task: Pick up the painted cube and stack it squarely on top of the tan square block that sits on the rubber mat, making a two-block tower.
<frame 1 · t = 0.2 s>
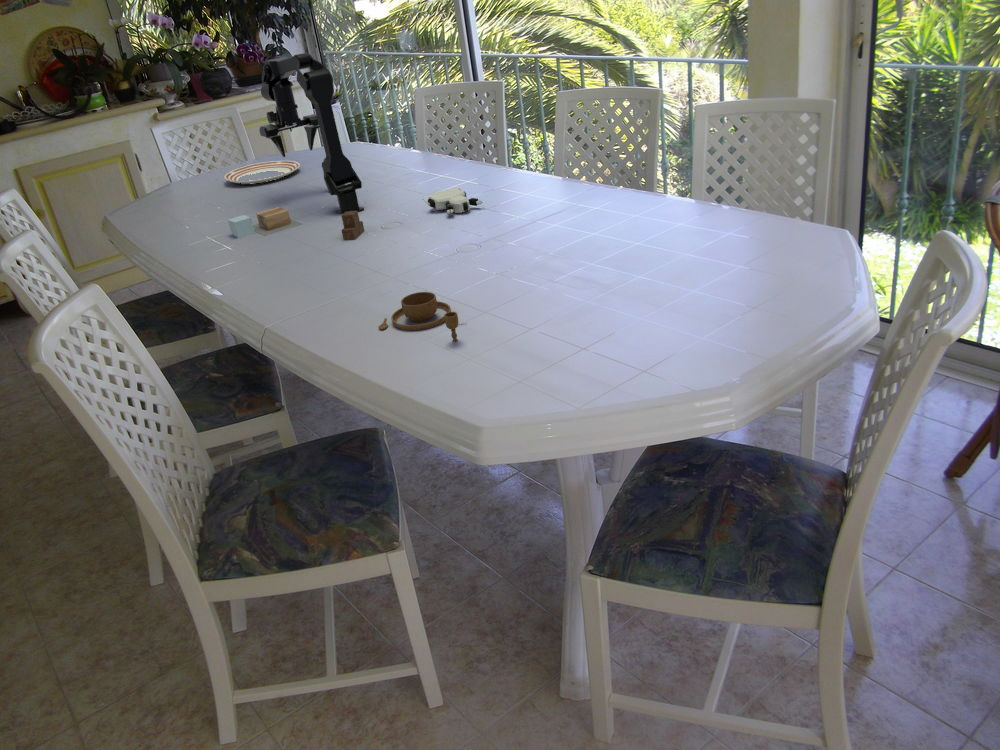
hand: (297, 153, 256), 15 cm above the table, tool pointing down, fingers open, 9 cm apart
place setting: (422, 330, 160), on the table
tan square block: (275, 225, 238), resting on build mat
cork: (337, 191, 268), on the table
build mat: (274, 226, 238), on the table
robot toy: (454, 211, 230), on the table
dinner plate: (264, 178, 301), on the table
stack of crates: (359, 237, 220), on the table
slate block: (244, 235, 235), on the table
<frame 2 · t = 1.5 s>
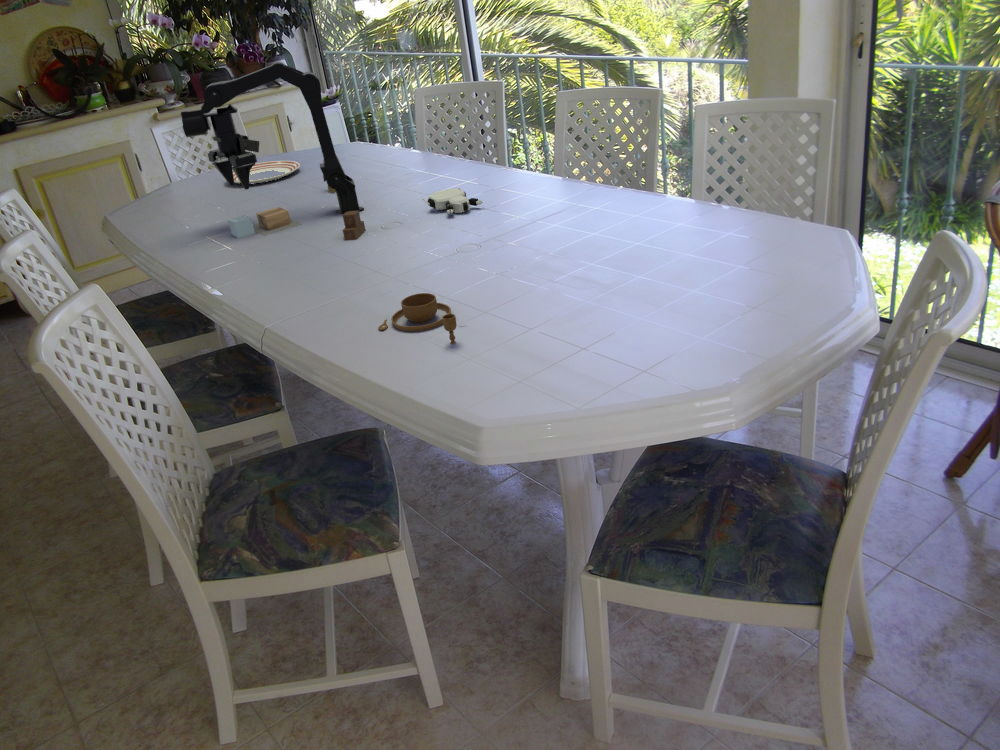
hand: (239, 187, 232), 13 cm above the table, tool pointing down, fingers open, 9 cm apart
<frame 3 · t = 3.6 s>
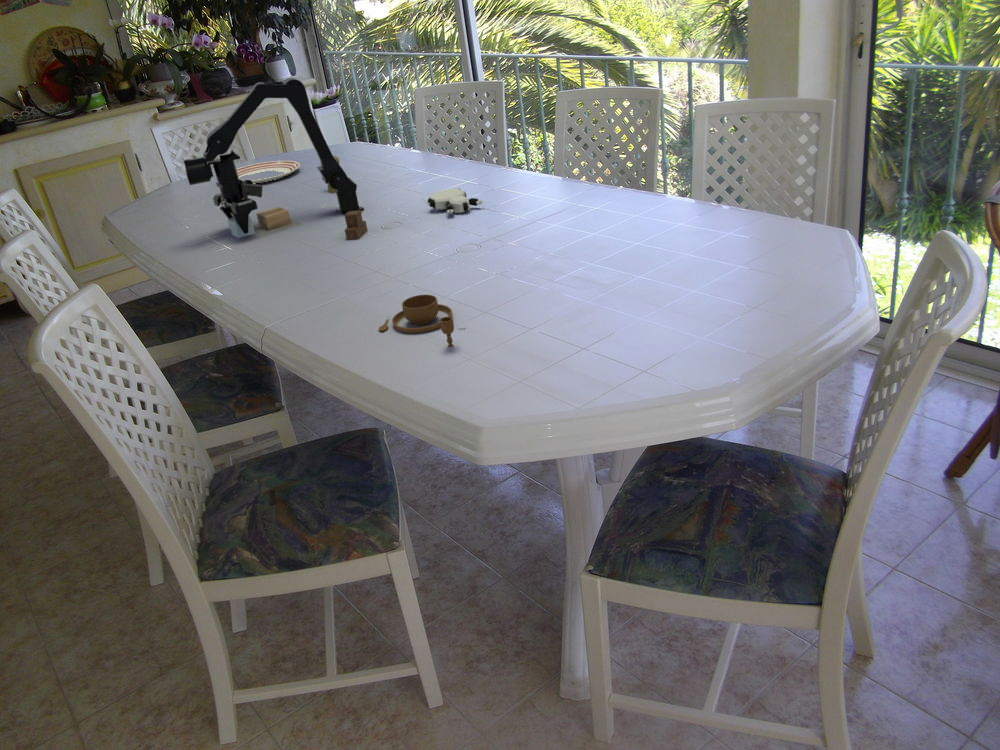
hand: (242, 231, 234), 1 cm above the table, tool pointing down, fingers closed on slate block, 5 cm apart
slate block: (243, 235, 235), on the table, touching gripper
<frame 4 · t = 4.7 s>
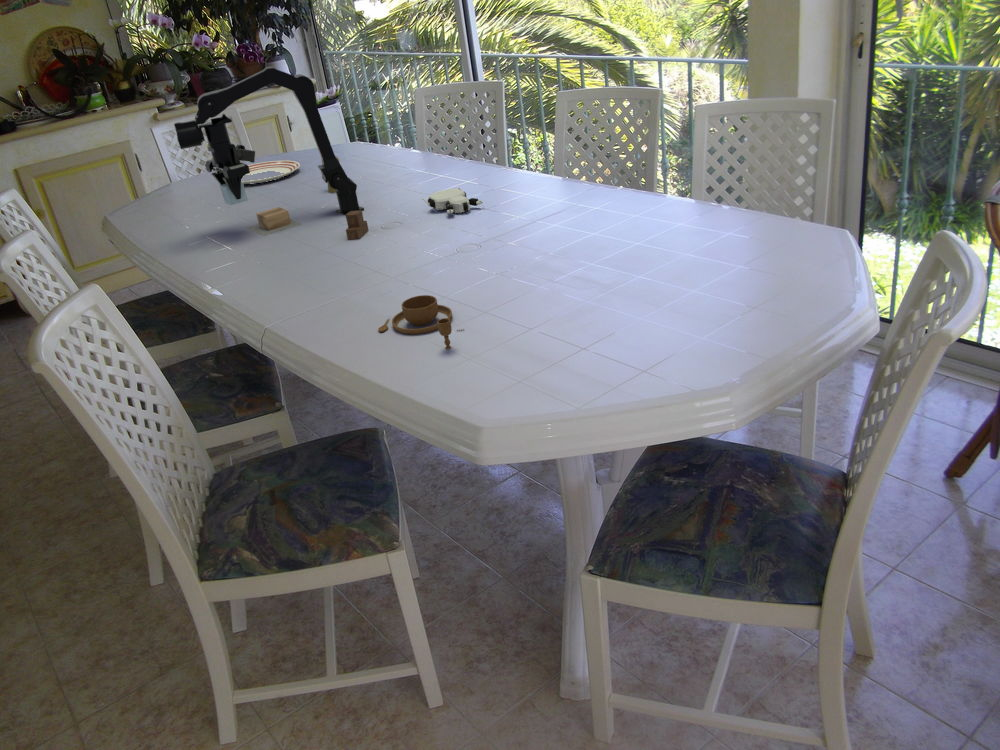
hand: (235, 197, 230), 11 cm above the table, tool pointing down, fingers closed on slate block, 5 cm apart
slate block: (236, 201, 230), point 10 cm above the table, touching gripper
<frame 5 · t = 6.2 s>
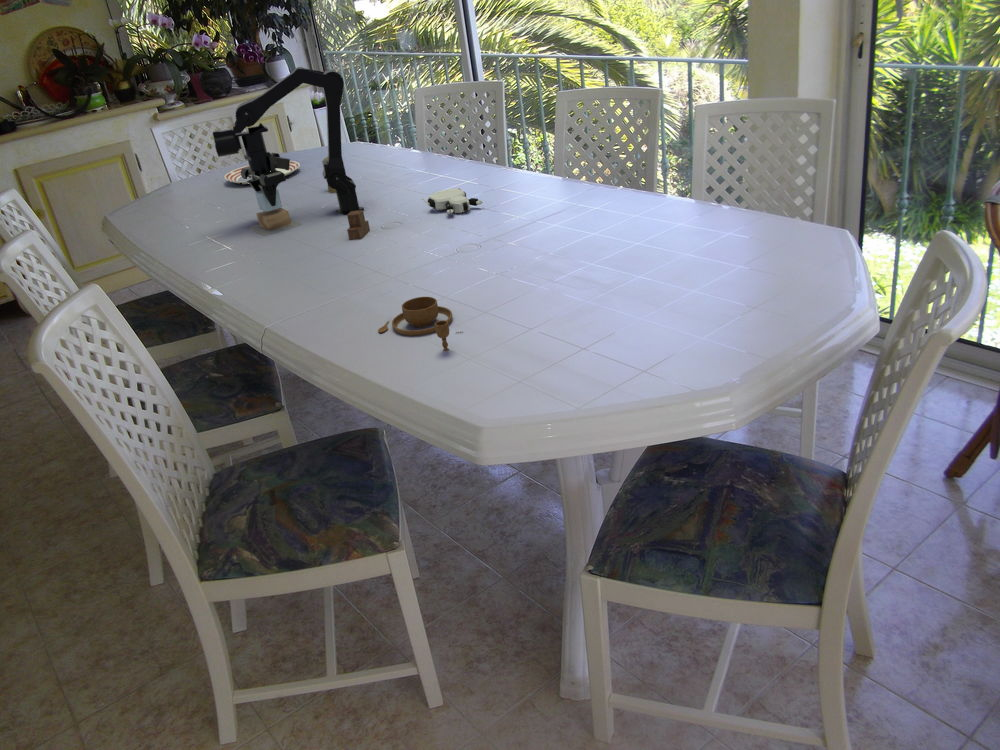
hand: (270, 204, 235), 7 cm above the table, tool pointing down, fingers closed on slate block, 5 cm apart
slate block: (271, 208, 236), point 5 cm above the table, touching gripper
when the fingers open (6 cm above the table, at t = 6.4 s): slate block drops 1 cm, resting on tan square block.
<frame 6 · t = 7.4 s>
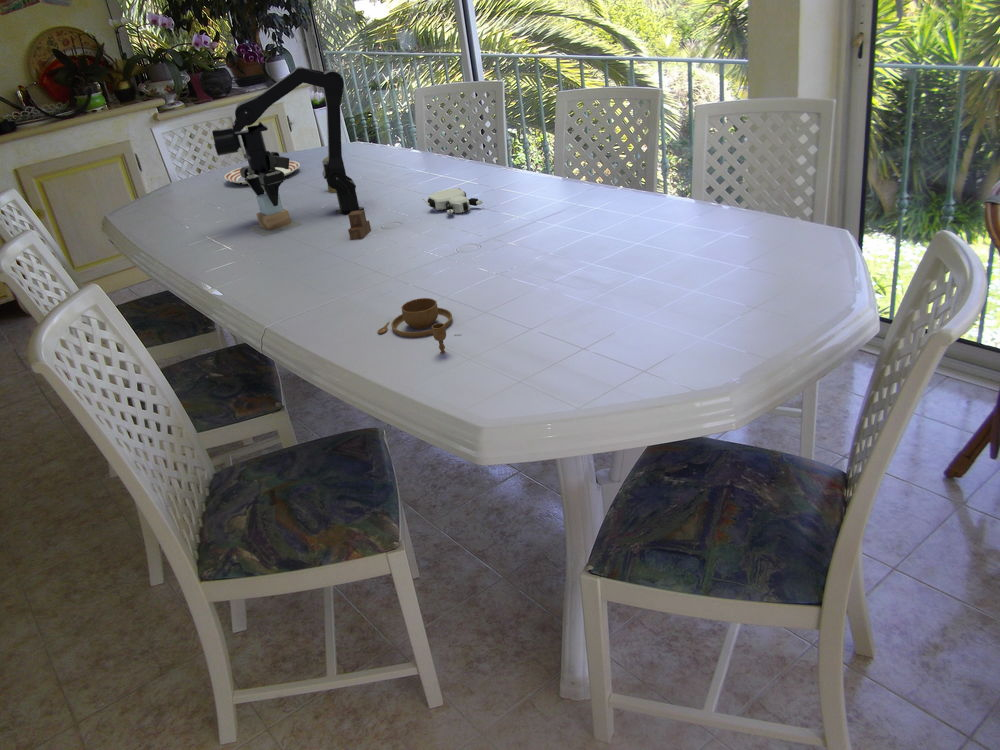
hand: (269, 203, 235), 7 cm above the table, tool pointing down, fingers open, 9 cm apart
tan square block: (275, 225, 238), resting on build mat, touching slate block
slate block: (272, 212, 236), point 4 cm above the table, touching tan square block
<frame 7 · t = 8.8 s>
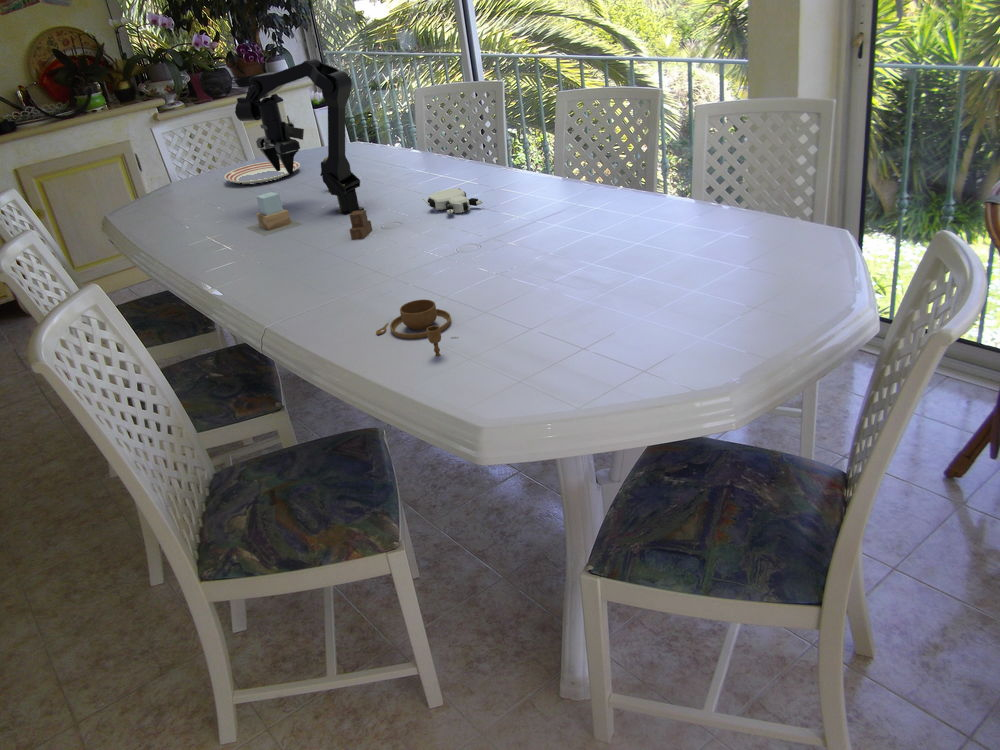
hand: (284, 172, 246), 12 cm above the table, tool pointing down, fingers open, 9 cm apart
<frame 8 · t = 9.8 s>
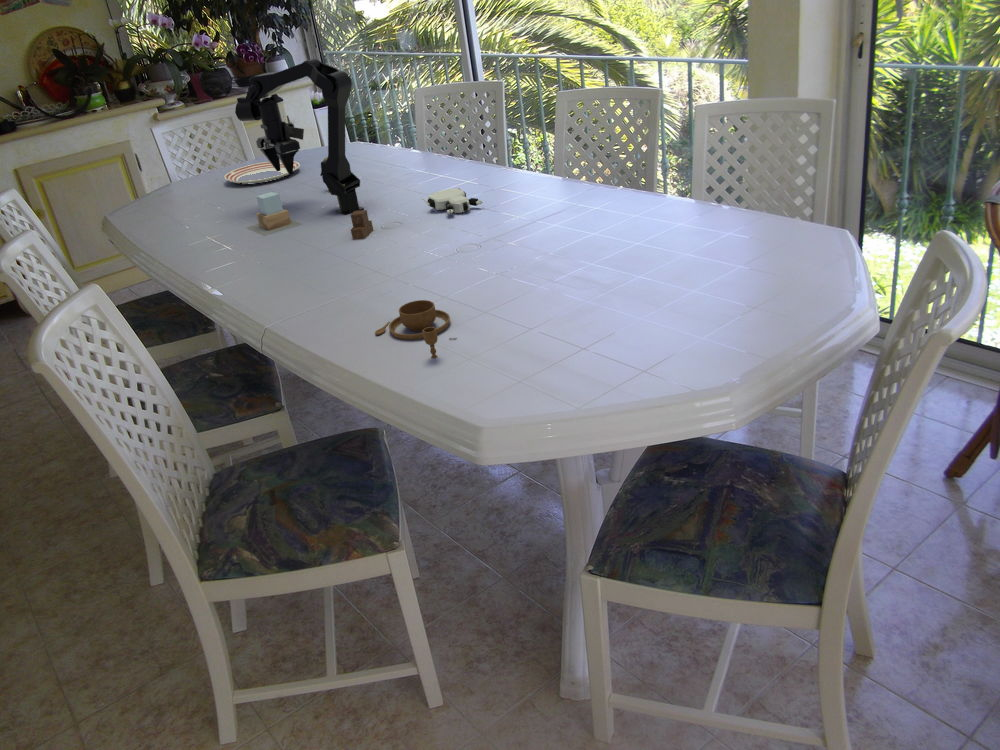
hand: (284, 172, 246), 12 cm above the table, tool pointing down, fingers open, 9 cm apart
at the end: slate block 0.0 cm off-centre on the tan square block, point 4.0 cm above the tan square block's base; slate block tilted 0°; the gripper is holding nothing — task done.
